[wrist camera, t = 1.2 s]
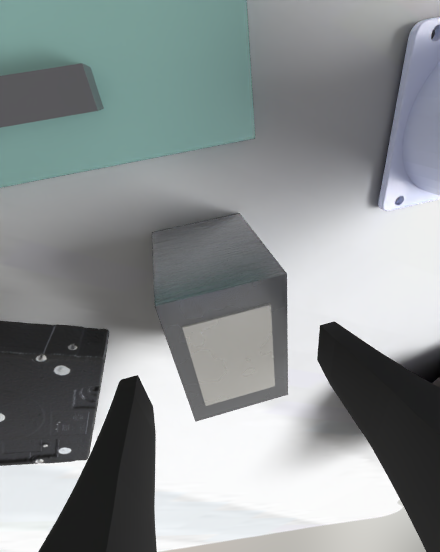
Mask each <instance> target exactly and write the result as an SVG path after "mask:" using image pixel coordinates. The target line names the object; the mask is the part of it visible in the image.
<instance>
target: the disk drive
mask: <svg viewBox="0 0 440 552" xmlns="http://www.w3.org/2000/svg"><path fill="white" fill-rule="evenodd" d="M108 337H109V331H108V330H106V329H92V328H84V327H78V326H67V325H43V324H30V323H20V322H7V321H0V466H2V465H21V464H34V463H35V464H37V463H59V462H71V461H76V460H87V459H88V457H89V453H90V446H91V440H92V433H93V429H94V424H95V417H96V411H97V405H98V399H99V393H100V387H101V382H102V375H103V369H104V363H105V357H106V351H107V344H108Z"/></svg>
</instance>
